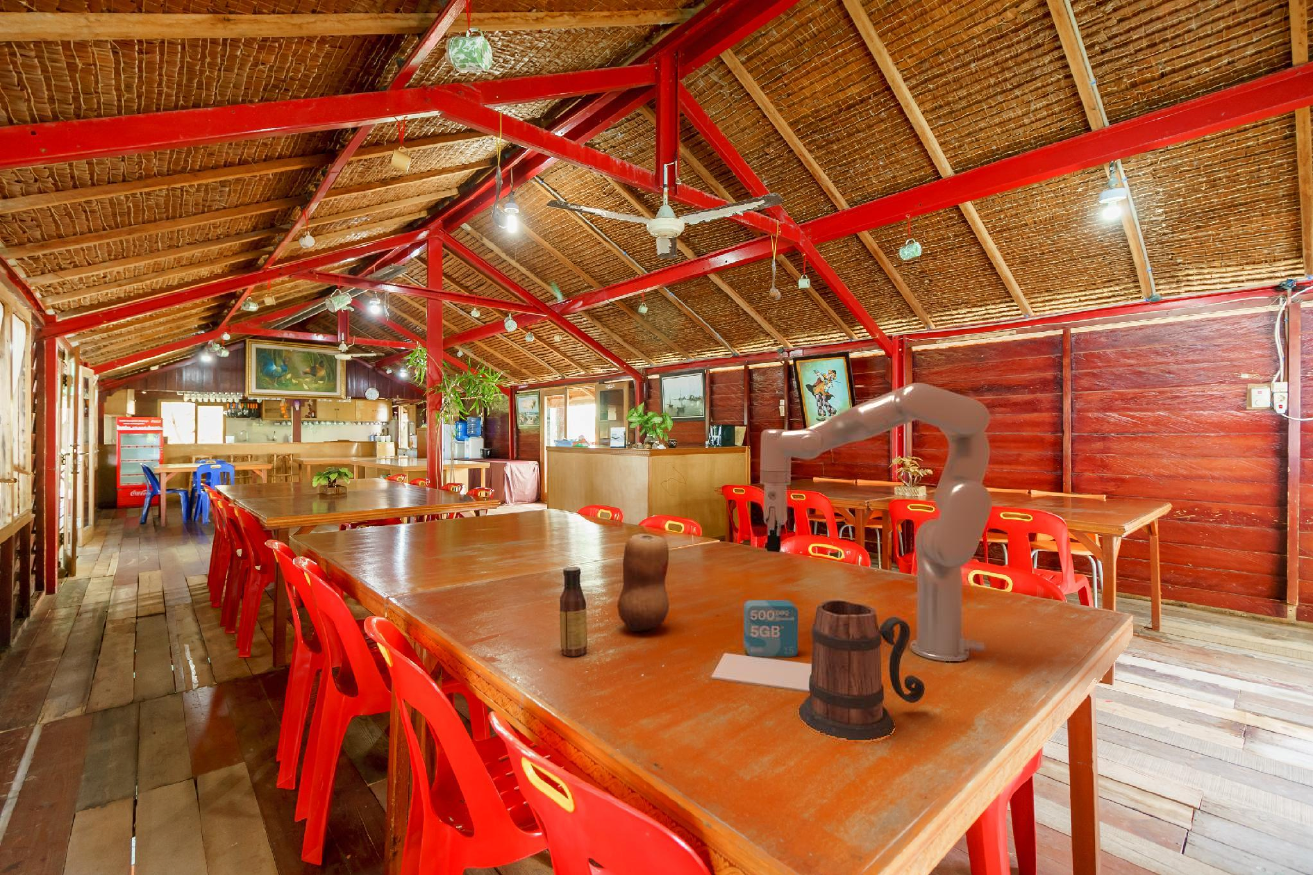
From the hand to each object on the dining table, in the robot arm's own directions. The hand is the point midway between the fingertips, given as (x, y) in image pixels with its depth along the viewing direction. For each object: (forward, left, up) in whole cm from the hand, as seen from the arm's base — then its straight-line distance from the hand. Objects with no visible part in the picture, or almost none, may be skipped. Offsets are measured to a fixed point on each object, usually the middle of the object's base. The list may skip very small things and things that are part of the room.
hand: (773, 551), depth 143 cm
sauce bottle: (+44, +24, -23) cm, 55 cm away
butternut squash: (+34, +3, -23) cm, 41 cm away
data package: (0, +9, -23) cm, 24 cm away
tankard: (-20, +35, -23) cm, 46 cm away
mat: (0, +20, -23) cm, 30 cm away
